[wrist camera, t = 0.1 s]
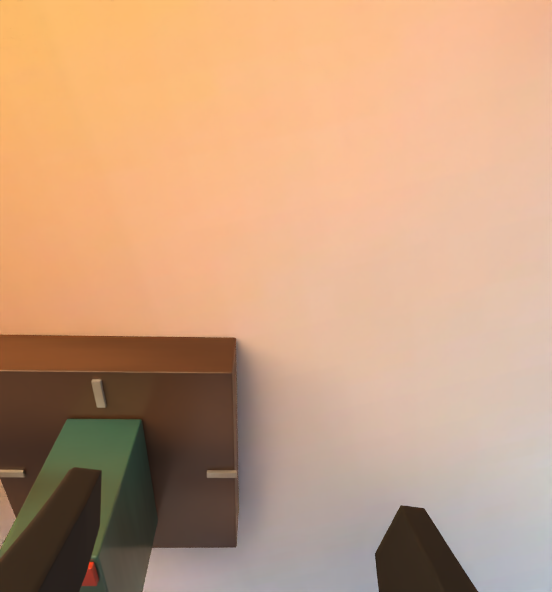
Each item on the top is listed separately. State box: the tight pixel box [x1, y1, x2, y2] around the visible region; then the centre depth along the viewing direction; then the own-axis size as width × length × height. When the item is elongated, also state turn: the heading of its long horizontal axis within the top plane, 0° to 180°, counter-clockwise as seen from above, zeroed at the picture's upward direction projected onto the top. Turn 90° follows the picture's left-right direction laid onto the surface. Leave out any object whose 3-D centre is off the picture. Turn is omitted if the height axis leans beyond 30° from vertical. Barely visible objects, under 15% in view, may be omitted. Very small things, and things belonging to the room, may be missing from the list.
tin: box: [0, 419, 158, 592], centre depth 19 cm, size 7×3×6 cm, turn 178°
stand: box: [0, 335, 239, 548], centre depth 22 cm, size 12×11×3 cm
